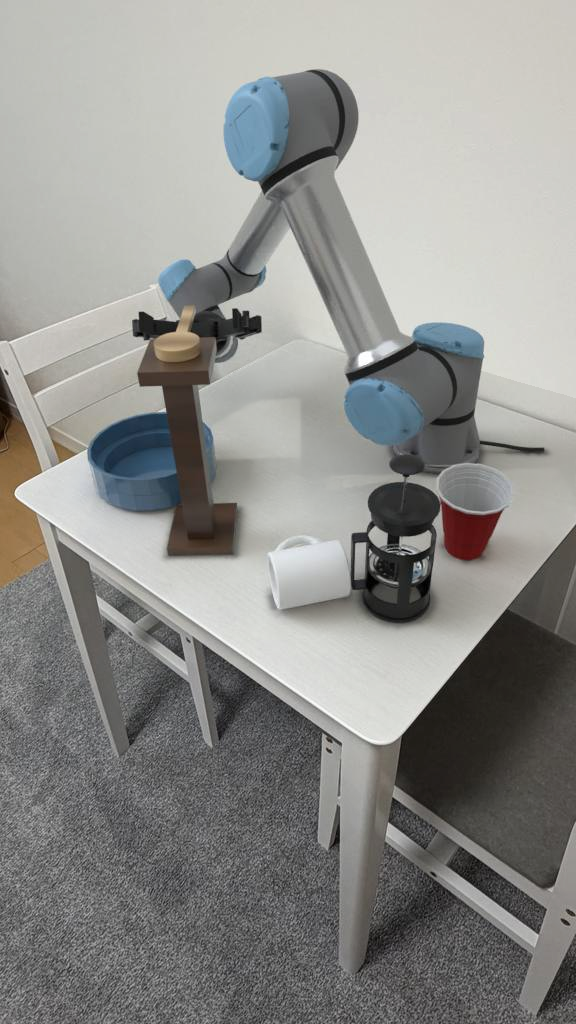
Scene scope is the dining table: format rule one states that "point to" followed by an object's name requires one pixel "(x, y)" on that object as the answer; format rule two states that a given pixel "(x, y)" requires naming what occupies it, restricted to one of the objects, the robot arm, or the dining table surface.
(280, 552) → the mug
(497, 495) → the plastic cup
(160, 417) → the bowl
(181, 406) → the stand
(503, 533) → the dining table surface
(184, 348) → the spoon
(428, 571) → the french press
